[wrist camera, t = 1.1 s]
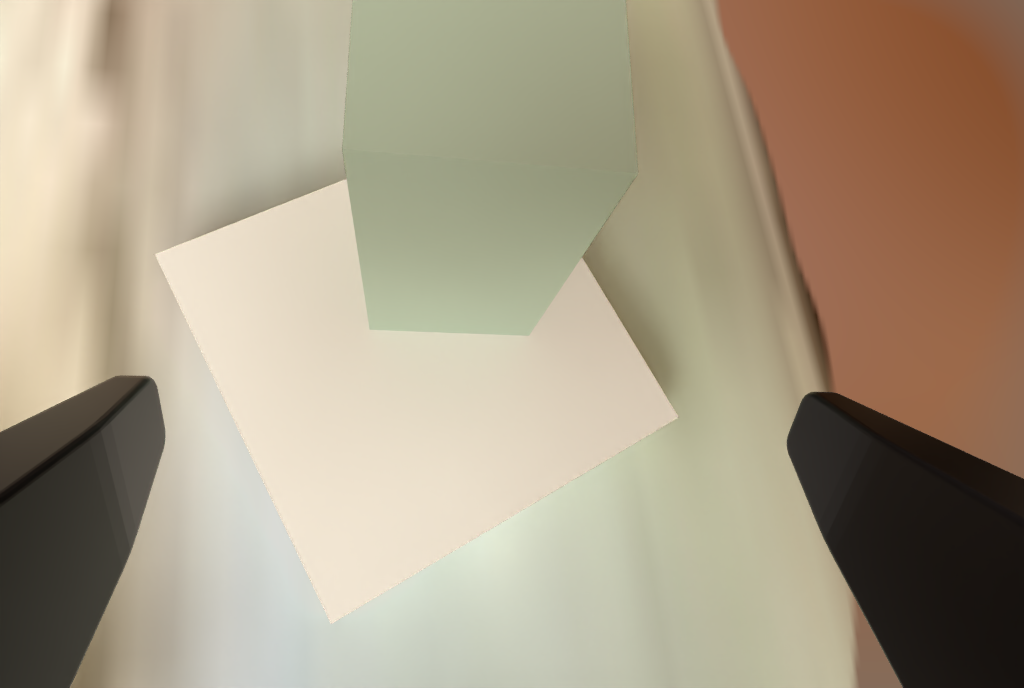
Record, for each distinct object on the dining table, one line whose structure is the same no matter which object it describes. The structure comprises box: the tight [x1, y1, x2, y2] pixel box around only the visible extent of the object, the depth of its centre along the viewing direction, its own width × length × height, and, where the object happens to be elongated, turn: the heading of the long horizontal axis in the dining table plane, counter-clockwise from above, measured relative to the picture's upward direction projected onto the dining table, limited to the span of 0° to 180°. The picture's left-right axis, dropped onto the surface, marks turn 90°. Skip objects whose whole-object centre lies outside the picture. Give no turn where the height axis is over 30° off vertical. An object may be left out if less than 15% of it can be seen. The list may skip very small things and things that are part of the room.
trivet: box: [155, 179, 679, 624], centre depth 21 cm, size 12×12×2 cm
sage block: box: [342, 0, 638, 336], centre depth 16 cm, size 5×5×10 cm
